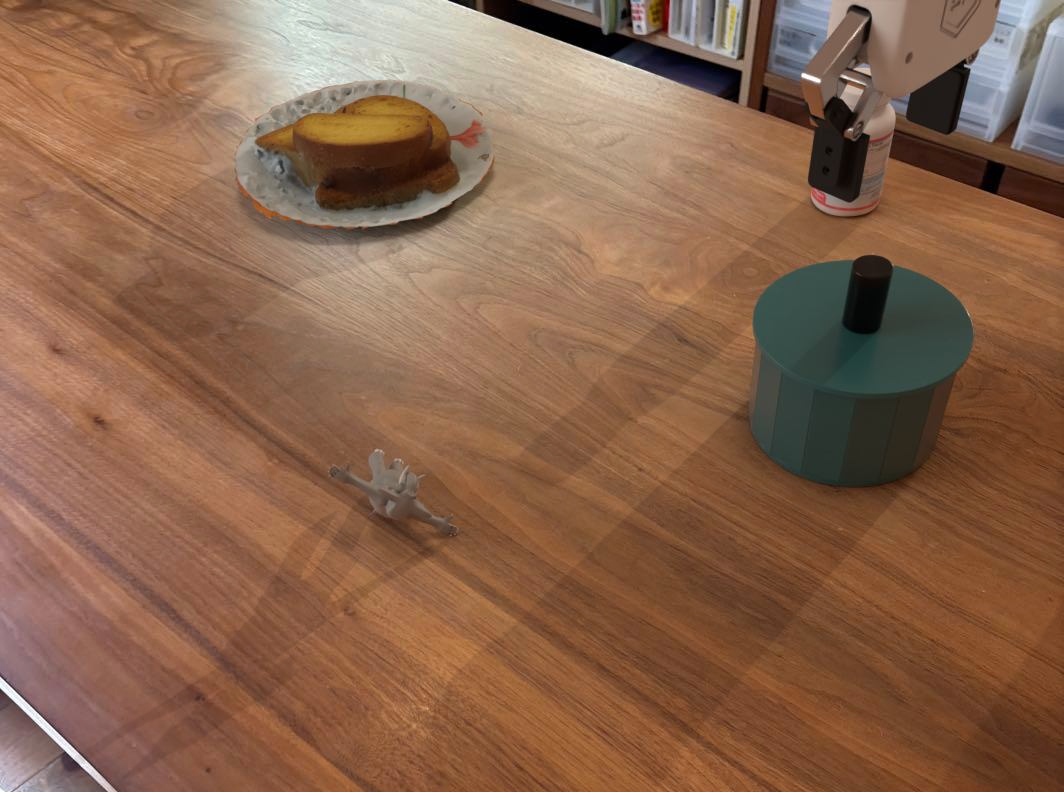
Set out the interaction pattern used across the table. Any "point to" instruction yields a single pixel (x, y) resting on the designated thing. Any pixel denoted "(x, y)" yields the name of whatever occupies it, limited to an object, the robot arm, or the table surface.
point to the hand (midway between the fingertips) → (882, 158)
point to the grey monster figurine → (393, 492)
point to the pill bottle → (876, 158)
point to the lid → (863, 329)
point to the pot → (842, 429)
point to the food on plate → (363, 154)
